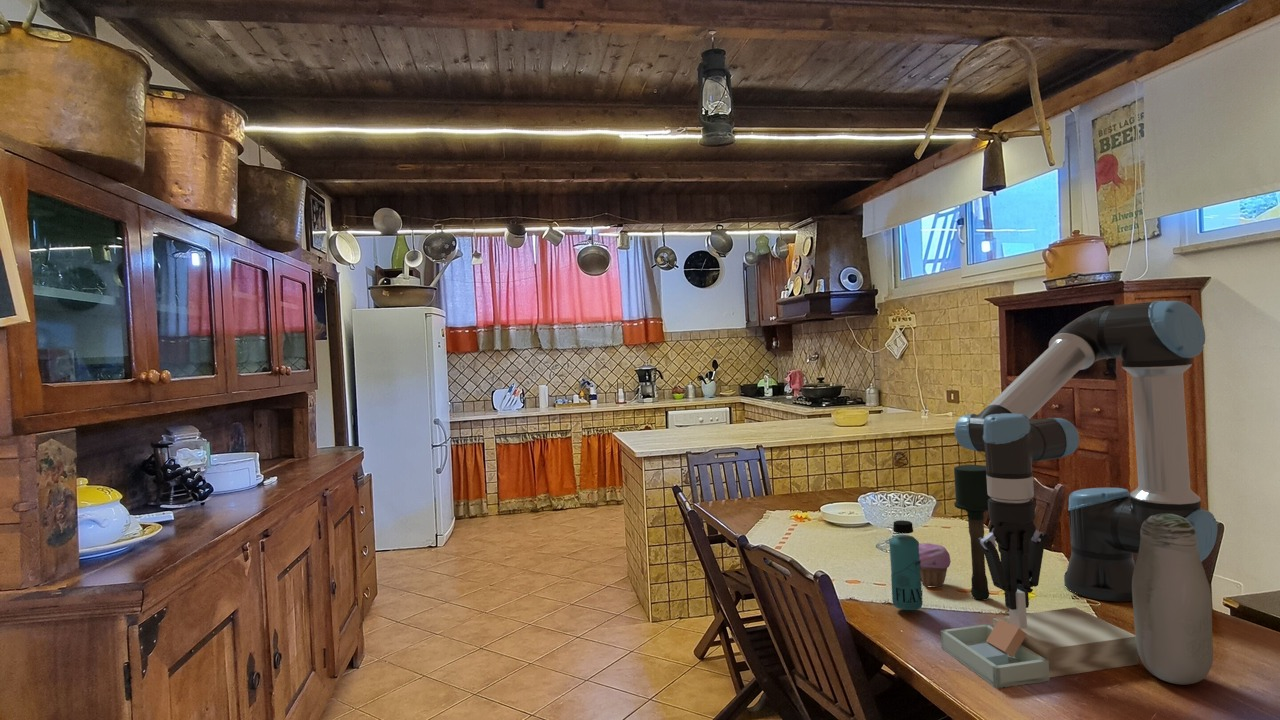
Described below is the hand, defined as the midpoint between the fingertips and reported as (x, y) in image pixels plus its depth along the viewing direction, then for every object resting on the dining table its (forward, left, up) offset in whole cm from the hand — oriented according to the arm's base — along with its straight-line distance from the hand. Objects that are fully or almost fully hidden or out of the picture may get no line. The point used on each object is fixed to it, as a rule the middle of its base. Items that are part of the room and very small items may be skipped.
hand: (1018, 625), depth 123 cm
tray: (+6, 0, -6) cm, 9 cm away
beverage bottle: (+7, -26, -7) cm, 28 cm away
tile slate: (+7, 0, -4) cm, 8 cm away
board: (-9, 0, -6) cm, 11 cm away
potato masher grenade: (-12, -28, -7) cm, 31 cm away
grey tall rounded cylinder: (-19, +13, -7) cm, 24 cm away
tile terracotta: (+2, 0, -3) cm, 3 cm away
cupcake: (-7, -39, -7) cm, 40 cm away
